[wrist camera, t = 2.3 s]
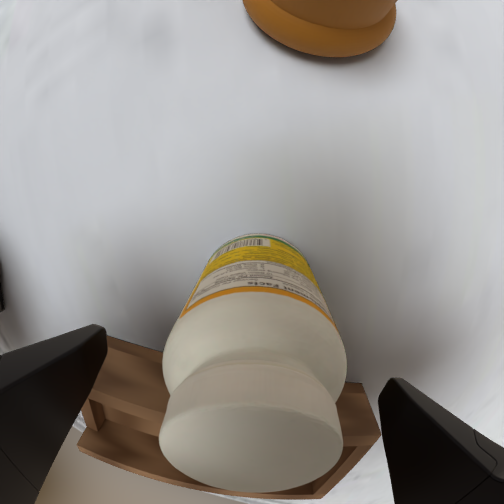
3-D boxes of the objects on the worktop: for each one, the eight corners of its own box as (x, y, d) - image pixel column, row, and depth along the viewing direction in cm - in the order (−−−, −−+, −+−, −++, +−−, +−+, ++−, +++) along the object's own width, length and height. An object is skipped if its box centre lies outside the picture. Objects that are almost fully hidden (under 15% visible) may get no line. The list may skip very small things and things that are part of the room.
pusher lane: (100, 413, 18) (79, 451, 13) (84, 327, 15) (47, 367, 11) (314, 455, 18) (321, 498, 14) (361, 383, 16) (381, 434, 11)
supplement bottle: (238, 210, 13) (185, 313, 4) (333, 268, 13) (424, 418, 4) (185, 299, 14) (107, 454, 5) (273, 346, 15) (280, 511, 6)
